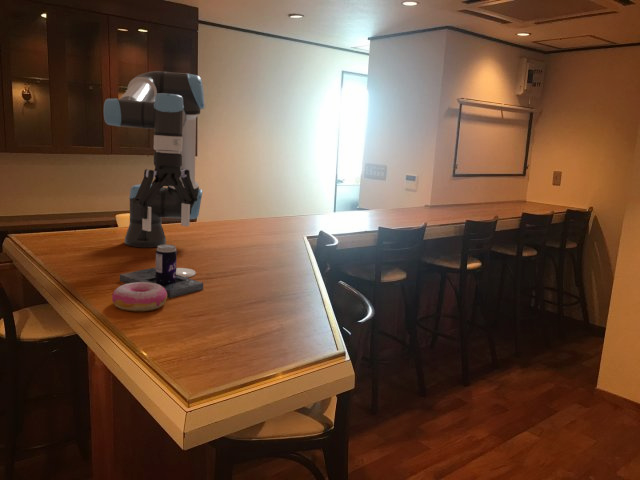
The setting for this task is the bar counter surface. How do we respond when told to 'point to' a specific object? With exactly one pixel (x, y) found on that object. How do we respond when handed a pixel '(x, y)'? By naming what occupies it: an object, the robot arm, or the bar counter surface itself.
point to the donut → (139, 296)
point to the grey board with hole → (173, 290)
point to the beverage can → (166, 264)
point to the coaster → (185, 272)
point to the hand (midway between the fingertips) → (166, 228)
